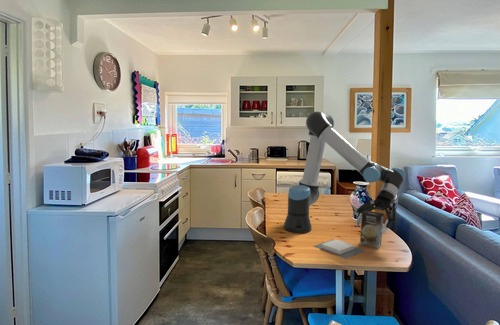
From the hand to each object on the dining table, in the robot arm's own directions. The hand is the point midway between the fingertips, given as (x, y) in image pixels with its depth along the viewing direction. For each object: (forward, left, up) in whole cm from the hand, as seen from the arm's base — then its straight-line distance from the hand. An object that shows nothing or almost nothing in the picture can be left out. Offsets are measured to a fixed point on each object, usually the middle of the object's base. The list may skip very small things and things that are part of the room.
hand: (369, 228), depth 159 cm
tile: (-6, -10, -7) cm, 14 cm away
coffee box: (0, +2, -9) cm, 9 cm away
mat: (-6, -15, -9) cm, 18 cm away
